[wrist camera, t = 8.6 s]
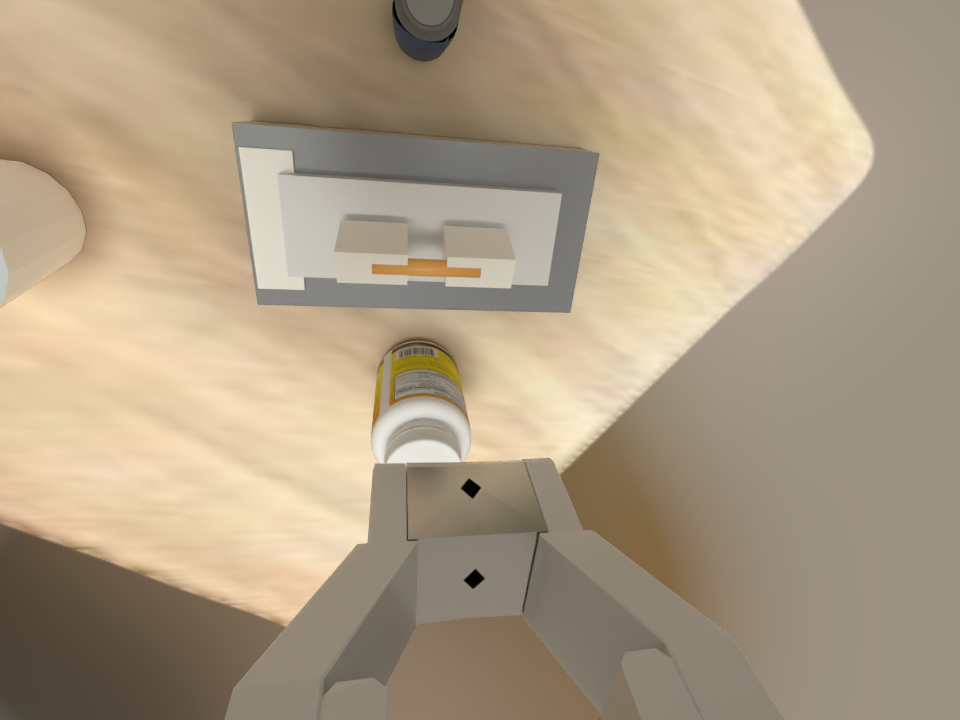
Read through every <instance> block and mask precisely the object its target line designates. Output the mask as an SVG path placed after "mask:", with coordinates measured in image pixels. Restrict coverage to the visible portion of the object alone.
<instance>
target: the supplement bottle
mask: <svg viewBox="0 0 960 720" xmlns="http://www.w3.org/2000/svg"><path fill="white" fill-rule="evenodd" d="M470 445H471V429H470V424H469V420H468V415H467V411H466V406H465V401H464V397H463V392H462V387H461V382H460V378H459V372H458V369H457V366H456V363H455V361H454V359H453V358H452V356H451V355H450V354H449V353H448V352H447V351H446V350H445V349H443V348H442V347H440V346H439V345H436V344H434V343H431V342H427V341H410V342H406V343H403V344H400V345H398V346H396V347H395V348H393V349H392V350H390V351H389V352H388V353H387V354H386V355H385V357H384V358H383V359H382V361H381V363H380V365H379V368H378V373H377V381H376V393H375V403H374V412H373V422H372V433H371V447H372V451H373V454H374V457H375V459H376V460H377V462H378V463H405V464H406V463H427V462H463V461H464V459H465V458H466V456H467V454H468V452H469V449H470Z"/></svg>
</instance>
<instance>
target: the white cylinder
mask: <svg viewBox="0 0 960 720" xmlns="http://www.w3.org/2000/svg"><path fill="white" fill-rule="evenodd" d="M85 236H86V228H85V224H84V219H83V215H82V211H81V210H80V208H79V207H78V205H77V204H76V202H75V201H74V199H73V198H72V196H71V194H70V193H69V191H68V190H66V189H65V188H64V187H63V186H62V185H61V184H59V183H58V182H57V181H56V180H55V179H53V178H52V177H51V176H50V175H49V174H47V173H45V172H43V171H41V170H39V169H37V168H35V167H32V166H30V165H28V164H26V163H24V162H19V161H11V160H3V159H0V308H2V307H3V306H5V305H6V304H8V303H9V302H11V301H12V300H14V299H15V298H17V297H18V296H20V295H21V294H22V293H24V292H25V291H27V290H28V289H30V288H31V287H33V286H34V285H36V284H37V283H39V282H40V281H42V280H43V279H45V278H46V277H48V276H49V275H50V274H52V273H53V272H55V271H56V270H58V269H59V268H61V267H62V266H64V265H65V264H67V263H68V262H70V261H71V260H72V259H73V258H74V257H75V256H76V255H77V254H78V253H79V252H80V251H81V250H82V247H83V244H84V240H85Z"/></svg>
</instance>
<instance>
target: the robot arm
mask: <svg viewBox="0 0 960 720" xmlns="http://www.w3.org/2000/svg"><path fill="white" fill-rule="evenodd" d="M510 615H523V619H524V620H525V621H526V622H527V624H528V625H529V626H530V627H531V629H532V630H533V631H534V632H535V634H536V635H537V636H538V637H539V639H540V640H541V641H542V642H543V643H544V645H545V646H546V647H547V648H548V650H549V651H550V652H551V653H552V655H553V656H554V657H555V658H556V659H557V661H558V662H559V663H560V664H561V666H562V667H563V668H564V669H565V671H566V672H567V673H568V674H569V676H570V677H571V678H572V679H573V680H574V682H575V683H576V684H577V685H578V687H579V688H580V689H581V690H582V691H583V693H584V694H585V695H586V696H587V698H588V699H589V700H590V701H591V703H592V704H593V705H594V706H595V707H596V709H597V710H598V711H599V712H600V714H601V715H600V718H599V720H784V719H783V717H782V715H781V714H780V712H779V710H778V709H777V707H776V706H775V704H774V702H773V701H772V699H771V697H770V696H769V694H768V693H767V691H766V689H765V688H764V686H763V684H762V683H761V681H760V680H759V678H758V676H757V675H756V673H755V672H754V670H753V668H752V667H751V665H750V664H749V662H748V660H747V659H746V657H745V655H744V654H743V652H742V651H741V649H740V647H739V646H738V644H737V642H736V641H735V639H734V638H733V637H732V636H730V635H729V634H728V633H726V632H725V631H724V630H723V629H721V628H720V627H719V626H717V625H716V624H715V623H713V622H712V621H711V620H709V619H708V618H707V617H706V616H704V615H703V614H702V613H700V612H699V611H698V610H696V609H695V608H694V607H692V606H691V605H690V604H688V603H687V602H686V601H684V600H683V599H682V598H680V597H679V596H678V595H677V594H675V593H674V592H673V591H671V590H670V589H669V588H667V587H666V586H665V585H663V584H662V583H661V582H659V581H658V580H657V579H656V578H654V577H653V576H652V575H650V574H649V573H648V572H646V571H645V570H644V569H642V568H641V567H640V566H639V565H637V564H636V563H635V562H633V561H632V560H631V559H629V558H628V557H627V556H625V555H624V554H623V553H621V552H620V551H619V550H617V549H616V548H615V547H614V546H612V545H611V544H610V543H608V542H607V541H605V540H604V539H603V538H602V537H600V536H599V535H598V534H596V533H595V532H594V531H592V530H591V531H583V528H582V526H581V524H580V522H579V519H578V517H577V514H576V512H575V510H574V508H573V505H572V503H571V501H570V498H569V496H568V494H567V491H566V489H565V487H564V484H563V482H562V480H561V477H560V475H559V473H558V470H557V468H556V466H555V463H554V461H552V460H551V459H550V458H539V459H522V460H509V461H483V462H427V463H406V464H405V463H378V464H375V465H374V469H373V477H372V491H371V504H370V517H369V531H368V543H366V544H357V545H356V546H355V548H354V549H353V550H352V551H351V552H350V553H349V555H348V556H347V557H346V558H345V559H344V560H343V562H342V563H341V564H340V565H339V566H338V567H337V569H336V570H335V571H334V572H333V573H332V574H331V576H330V577H329V578H328V579H327V580H326V581H325V583H324V584H323V585H322V586H321V587H320V588H319V590H318V591H317V592H316V593H315V594H314V595H313V597H312V598H311V599H310V600H309V601H308V602H307V604H306V605H305V606H304V607H303V608H302V609H301V610H300V612H299V613H298V614H297V615H296V616H295V617H294V619H293V620H292V621H291V622H290V623H289V624H288V626H287V627H286V628H285V629H284V630H283V631H282V633H281V634H280V635H279V636H278V637H277V638H276V640H275V641H274V642H273V643H272V644H271V645H270V647H269V648H268V649H267V650H266V651H265V653H264V654H263V655H262V656H261V657H260V658H259V660H258V661H257V662H256V663H255V664H254V665H253V667H252V668H251V669H250V670H249V671H248V672H247V673H246V675H245V676H244V677H243V678H242V679H241V680H240V682H239V683H238V684H237V685H236V686H235V687H234V689H233V693H232V696H231V699H230V703H229V706H228V710H227V713H226V717H225V720H387V695H386V694H387V692H386V688H385V686H386V684H387V682H388V680H389V678H390V676H391V674H392V672H393V671H394V669H395V666H396V665H397V663H398V661H399V659H400V657H401V655H402V653H403V651H404V649H405V648H406V646H407V644H408V642H409V640H410V638H411V636H412V634H413V632H414V630H415V628H416V624H421V623H429V622H438V621H446V620H455V619H464V618H474V617H475V618H476V617H493V616H510Z"/></svg>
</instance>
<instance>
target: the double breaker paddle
mask: <svg viewBox="0 0 960 720" xmlns="http://www.w3.org/2000/svg"><path fill="white" fill-rule="evenodd" d="M334 258H335V267H336V277H337V283H362V284H391V285H407V276H429V277H444V278H445V286H450V287H480V288H509V289H511V285H512V280H513V275H514V269H515V264H516V257H515V254H514V251H513V248H512V245H511V242H510V238H509V235H508V232H507V229H499V228H480V227H462V226H444V233H443V247H442V258H443V260H439V259H415V258H408V224H407V223H388V222H370V221H352V220H341V221H340V226H339V231H338V235H337V240H336V245H335V249H334Z"/></svg>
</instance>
